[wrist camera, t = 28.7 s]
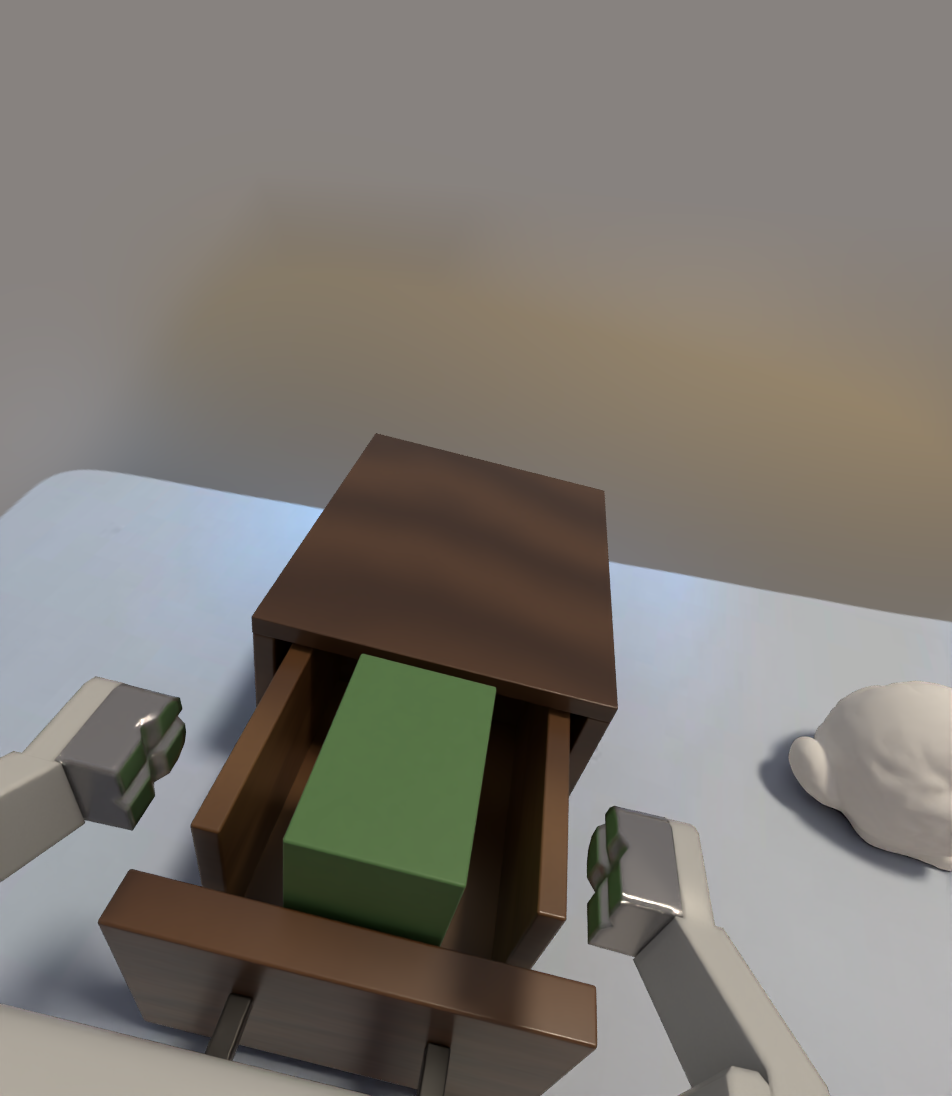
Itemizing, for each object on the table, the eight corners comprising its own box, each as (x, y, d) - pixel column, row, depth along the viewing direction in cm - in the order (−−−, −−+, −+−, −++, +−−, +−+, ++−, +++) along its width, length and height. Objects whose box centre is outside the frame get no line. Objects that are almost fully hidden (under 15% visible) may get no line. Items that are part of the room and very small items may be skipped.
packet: (282, 983, 18) (281, 840, 12) (342, 812, 22) (361, 652, 17) (410, 1017, 18) (466, 887, 12) (445, 838, 22) (496, 686, 17)
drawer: (499, 1409, 13) (606, 1457, 9) (12, 1286, 13) (-120, 1274, 9) (543, 733, 28) (590, 627, 24) (312, 675, 28) (318, 558, 24)
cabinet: (545, 840, 25) (618, 708, 19) (258, 768, 25) (250, 616, 19) (556, 612, 37) (604, 490, 31) (362, 563, 37) (375, 432, 31)
